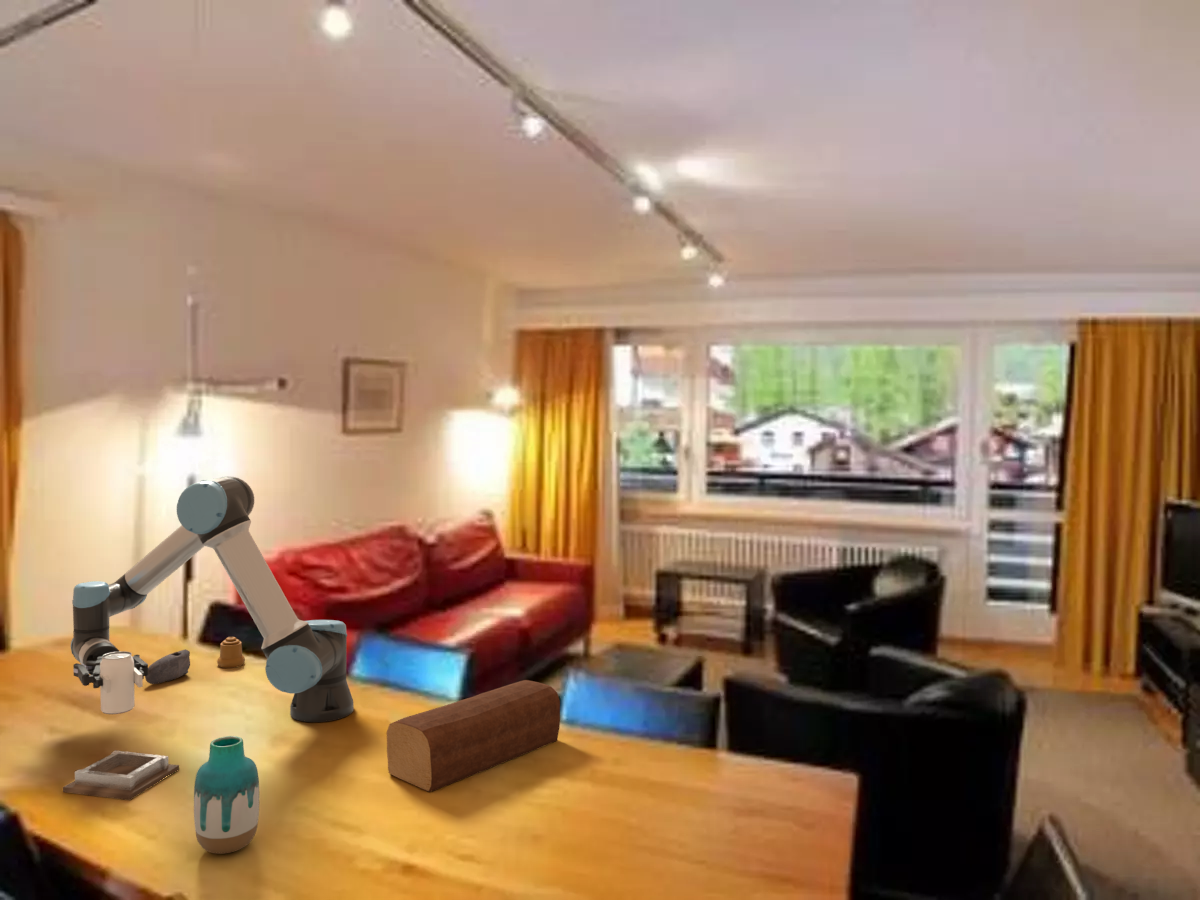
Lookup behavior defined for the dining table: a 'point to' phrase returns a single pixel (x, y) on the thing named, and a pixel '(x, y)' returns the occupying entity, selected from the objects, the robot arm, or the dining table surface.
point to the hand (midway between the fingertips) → (124, 683)
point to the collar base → (118, 792)
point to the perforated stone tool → (169, 667)
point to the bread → (472, 734)
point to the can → (118, 682)
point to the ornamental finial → (230, 653)
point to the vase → (226, 797)
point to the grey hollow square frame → (100, 778)
